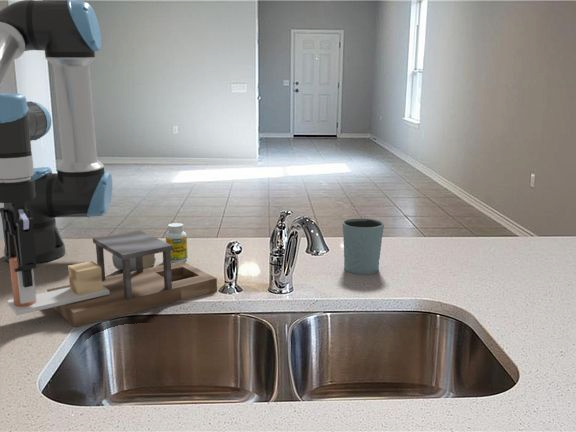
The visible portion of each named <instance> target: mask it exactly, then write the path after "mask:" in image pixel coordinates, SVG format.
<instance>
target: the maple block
mask: <svg viewBox="0 0 576 432" xmlns="http://www.w3.org/2000/svg"><path fill="white" fill-rule="evenodd" d="M67 267H68V268H67V269H68V279H69V285H70V289H71V290H72V291H74V292H75V293H76V294H77V295H83V294H88V293H92V292H97V291H101V290H103V285H102V272H101V267H100V266H99V265H97V262H96V263H95V262H94V261H92V260H91V261H85V262H81V263H74V264H71V265H67Z"/></svg>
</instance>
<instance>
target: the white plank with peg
mask: <svg viewBox="0 0 576 432" xmlns="http://www.w3.org/2000/svg"><path fill="white" fill-rule="evenodd" d="M8 264H9V269H10V270H9V271H10V281H11V290H12V297H13V298H12V299H9V300H8V299H7V300H6V304H7V306H8V307H9V308H10V309H11V310H12V312H13V313H14V314H15V315H16V316H21V315H26V314H30V313H34V312H39V311H42V310H46V309H51V308H53V307H56V306H60V305H65V304H69V303H73V302H78V301H82V300H86V299H91V298H95V297H99V296H104V295H108V294H110V291H109V290H108V289H107V288H105V287H104V286H103V290H101V291H97V292H92V293H88V294H83V295H77V294H76V293H75V292H74V291H72V290H71V289H70V287H68V288H63V289H59V290H54V291H49V292H47V291H46V292H41V293H36V291H35V293H36V301H32V302H28V303H23V304H21V303H20V295H19V286H18V277H17V272H15V270H14V269H16V268H18V262H17V256H16V257H12V258H10V259H9V262H8ZM33 273H34V271H33ZM34 283H36V282H35V281H34Z"/></svg>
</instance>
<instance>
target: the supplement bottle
mask: <svg viewBox="0 0 576 432" xmlns="http://www.w3.org/2000/svg"><path fill="white" fill-rule="evenodd" d="M184 228H185V227H184V223H180V222H174V223H173V222H172V223H169V224H168V225H167V230H168V232H167V233H166V234H165V242H166V243H168V244H171V245H173V250H171V251H170V256H171V263H175V262H180V261H183V262H186V261H187V260H188V238H187V233H186V232H185V231H184V230H185V229H184Z"/></svg>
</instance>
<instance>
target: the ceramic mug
mask: <svg viewBox="0 0 576 432" xmlns="http://www.w3.org/2000/svg"><path fill="white" fill-rule="evenodd" d="M111 257H112V258H111V259H112V264H113V266H114V268H115V269H116V270H121V271H123V267H122V259H121V258H119V257H117V256H116V255H114V254H112V255H111ZM142 260H143V269H147V268H152V267H153V265H154V264H156V260H157V259H156V255H155V254H151V255H145V256H142ZM130 271H131V272H133V271H136V257H135V258H130Z"/></svg>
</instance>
